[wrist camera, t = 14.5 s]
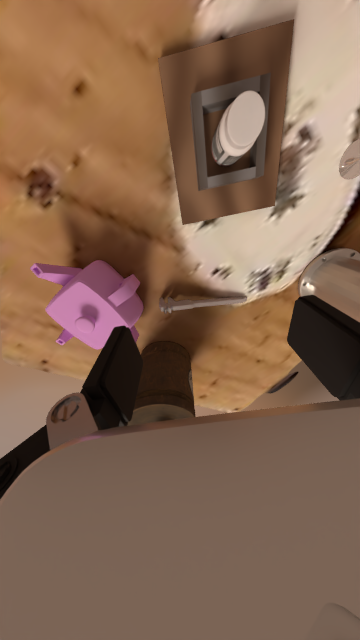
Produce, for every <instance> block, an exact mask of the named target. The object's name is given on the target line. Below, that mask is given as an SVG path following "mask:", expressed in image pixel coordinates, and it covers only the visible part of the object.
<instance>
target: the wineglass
mask: <svg viewBox="0 0 360 640" xmlns="http://www.w3.org/2000/svg"><path fill="white" fill-rule="evenodd" d="M339 172H340V174H341V176H342V177H343V178H344V179H353V178H355V177H357V176H358V175H360V139H358V140H356V141H354V142H353V143H352V144H351V145H350V146H349V147H348V148H347V150H346V151H345V152H344V154H343V156H342V158H341V162H340V165H339Z"/></svg>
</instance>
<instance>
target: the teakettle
mask: <svg viewBox="0 0 360 640" xmlns="http://www.w3.org/2000/svg"><path fill="white" fill-rule="evenodd" d="M30 269H31V270H32V271H33V272H34V274H35V275H36V276H37V277H38V278H43V279H46V280H49V281H52V282H55V283H58V284H61V285H63V286H64V287H63V288H62V289H61V290H60V291H59V292H58V293H57V294H56V295H55V296H54V297H53V299H52V300H51V301H50V303H49V304H48V306H47V307H46V312H47V313H48V314H49V315H50V316H51V317H52V318H53V319H54V320H55V321H56V322H57V323H59V324H60V325H61V326H62V327H63V328H64V330H63V331H62V333H61V334H60V336H59V337H58V339H57V340H56V342H57V343H59V344H60V345H63V344H64V343H66V342H67V341H68V340H69V339H71V338H72V337H74V336H75V337H77V338H78V339H79V340H81V341H82V342H84V343H85V344H87V345H89V346H90V347H92V348H94V349H100V348H102V347H104V345H105V343H106V341H107V340H108V338H109V336H110V334H111V332H112V330H113V328H114V327H118V326H126V328H127V327H128V328H129V329H130V331H131V333H132V336H133V338H134V340H135V343H136V341H137V339H138V336H139V334H138V332H137V330H136V328H135V326H134V324H135V323H136V322H137V320H138V319H139V317H140V316H141V314H142V312H143V308H144V307H143V303H142V301H141V299H140V297H139V296H138V295H137V293H136V292H135V291H136V290H137V288H138V286H139V285H140V282H139V280H138V279H137V278H136V277H135V276H134V274H132V275H130V276H129V277H127V278H125V279H124V278H123V277H122V276H121V275H120V274H119V273H118V272H117V271H116V270H115V269H114V268H113V267H111V266H110V265H109V264H108V263H106V262H105V261H102V260H96V261H94V262H92V263H91V264H89V265H88V266H87V267H85V268H84V269H83V270H82V269H81V268H73V267H65V266H56V265H48V264H39V263H35V264H34V265H33V266H32V267H31V268H30Z"/></svg>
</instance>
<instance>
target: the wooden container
mask: <svg viewBox="0 0 360 640" xmlns="http://www.w3.org/2000/svg"><path fill="white" fill-rule="evenodd" d="M141 357H142V359H143V368H142V373H141V378H140V382H139V387H138V392H137V396H136V401H135V406H134V410H133V415H132V419H131V421H129V422H128V426H129V425H137V424H144V423H151V422H159V421H167V420H175V419H184V418H192V417H195V409H194V397H193V383H192V372H191V363H190V357H189V354H188V352H187V351H186V349H185V348H183V347H182V346H180V345H179V344H176V343H173V342H165V341H163V342H156V343H153V344H151V345H149V346H147V347H146V348H145V349H144V350H143V352H142V353H141Z"/></svg>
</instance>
